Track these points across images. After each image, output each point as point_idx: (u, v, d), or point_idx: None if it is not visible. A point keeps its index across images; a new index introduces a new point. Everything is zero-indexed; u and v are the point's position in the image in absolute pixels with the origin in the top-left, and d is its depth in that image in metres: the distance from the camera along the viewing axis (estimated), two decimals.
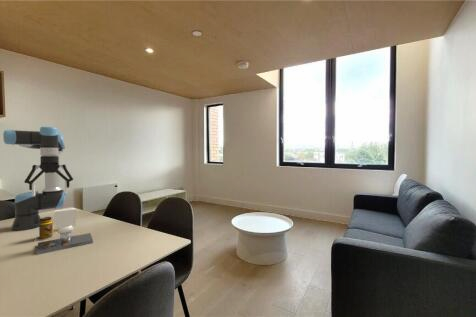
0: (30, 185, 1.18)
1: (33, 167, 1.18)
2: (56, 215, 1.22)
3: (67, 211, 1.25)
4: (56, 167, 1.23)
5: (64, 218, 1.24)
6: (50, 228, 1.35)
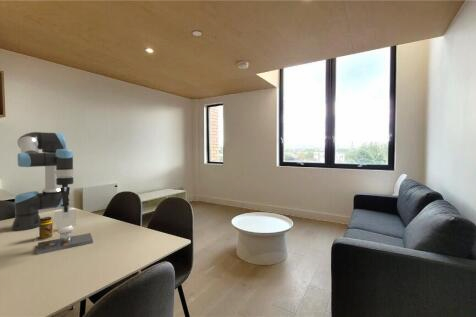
0: None
1: (62, 186, 1.29)
2: (56, 215, 1.22)
3: None
4: (62, 189, 1.22)
5: (64, 218, 1.24)
6: (50, 228, 1.35)
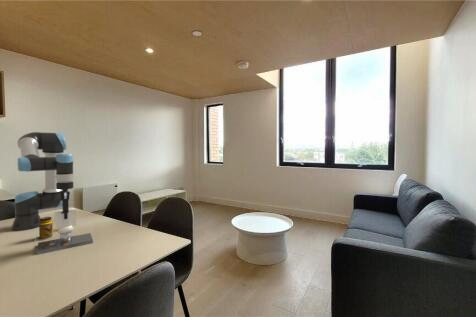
0: None
1: None
2: (56, 215, 1.22)
3: None
4: (62, 193, 1.22)
5: None
6: (50, 228, 1.35)
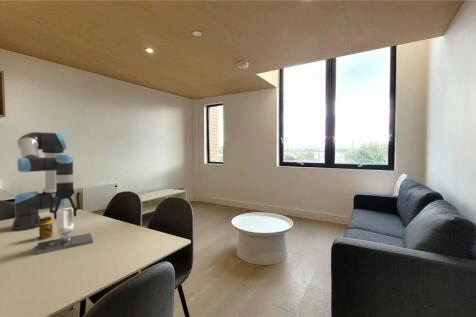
0: (55, 214, 1.22)
1: (50, 197, 1.20)
2: (64, 215, 1.22)
3: (69, 210, 1.27)
4: (71, 193, 1.26)
5: (68, 217, 1.25)
6: (50, 228, 1.35)
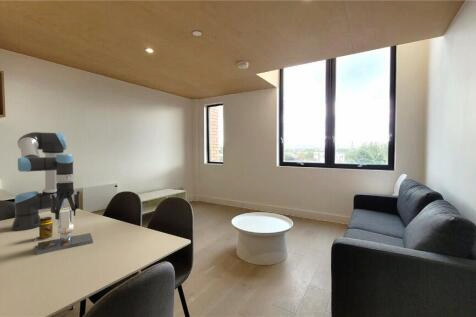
0: (57, 215, 1.22)
1: (53, 197, 1.19)
2: (69, 214, 1.23)
3: (69, 210, 1.27)
4: (71, 192, 1.27)
5: (69, 217, 1.26)
6: (50, 228, 1.35)
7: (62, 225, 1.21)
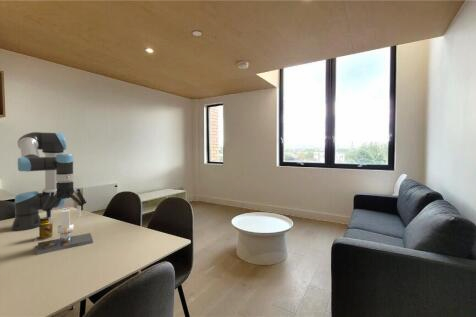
0: (48, 212, 1.18)
1: (52, 194, 1.19)
2: (69, 214, 1.23)
3: (69, 210, 1.27)
4: (72, 192, 1.27)
5: (69, 217, 1.26)
6: (50, 228, 1.35)
7: (62, 225, 1.21)
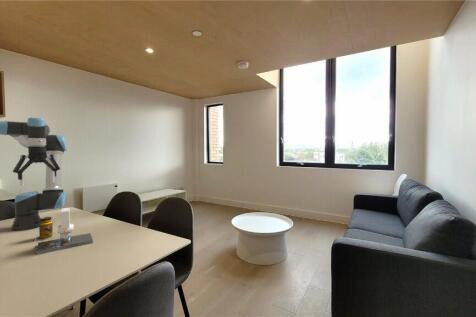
0: (20, 175, 1.19)
1: (23, 157, 1.20)
2: (69, 214, 1.23)
3: (69, 210, 1.27)
4: (45, 157, 1.28)
5: (69, 217, 1.26)
6: (50, 228, 1.35)
7: (62, 225, 1.21)
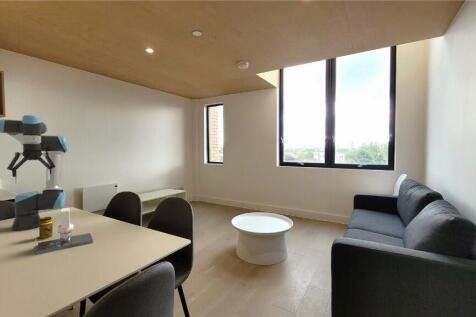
0: (14, 172, 1.19)
1: (17, 154, 1.20)
2: (69, 214, 1.23)
3: (69, 210, 1.27)
4: (39, 154, 1.28)
5: (69, 217, 1.26)
6: (50, 228, 1.35)
7: (62, 225, 1.21)
